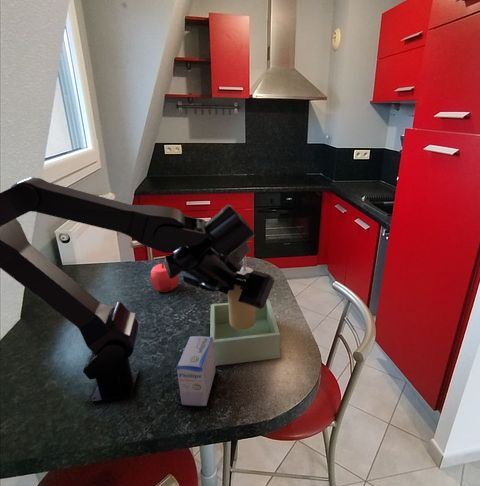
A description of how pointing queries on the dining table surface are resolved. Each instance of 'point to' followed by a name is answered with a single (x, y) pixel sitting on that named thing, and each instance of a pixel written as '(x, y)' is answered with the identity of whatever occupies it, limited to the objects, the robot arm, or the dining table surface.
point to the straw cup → (240, 306)
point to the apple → (162, 279)
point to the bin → (244, 336)
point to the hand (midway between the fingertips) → (245, 292)
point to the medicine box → (196, 371)
